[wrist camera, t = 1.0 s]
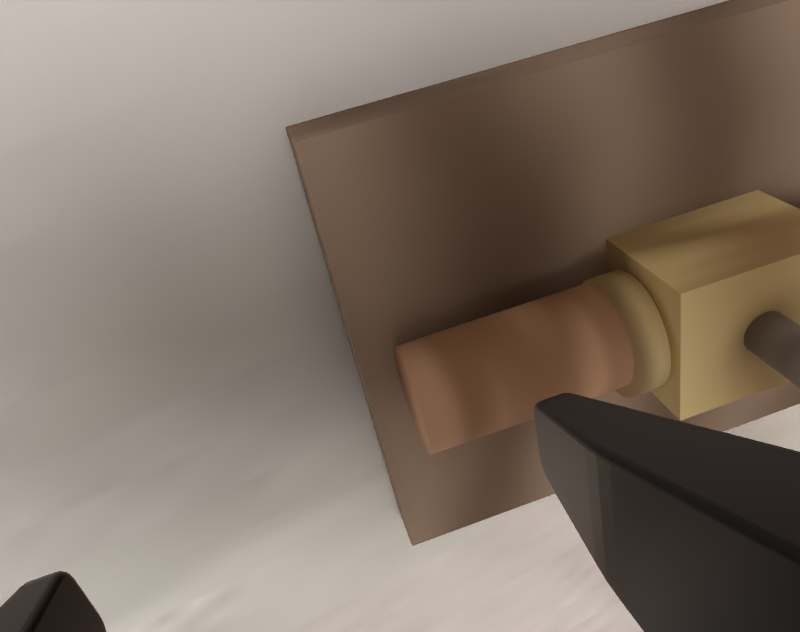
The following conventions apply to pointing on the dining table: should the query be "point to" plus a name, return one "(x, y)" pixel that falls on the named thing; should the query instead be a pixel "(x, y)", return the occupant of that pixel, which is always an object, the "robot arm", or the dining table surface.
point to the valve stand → (567, 247)
